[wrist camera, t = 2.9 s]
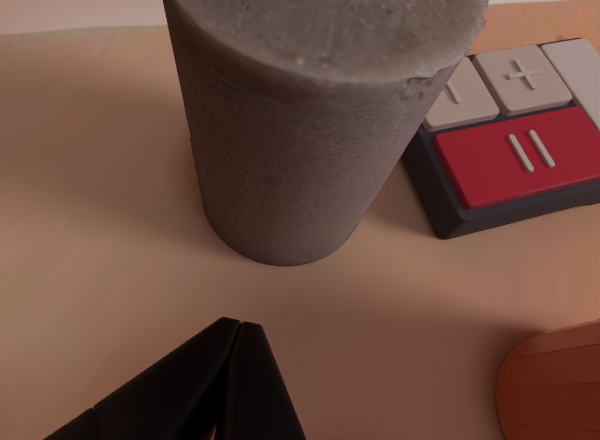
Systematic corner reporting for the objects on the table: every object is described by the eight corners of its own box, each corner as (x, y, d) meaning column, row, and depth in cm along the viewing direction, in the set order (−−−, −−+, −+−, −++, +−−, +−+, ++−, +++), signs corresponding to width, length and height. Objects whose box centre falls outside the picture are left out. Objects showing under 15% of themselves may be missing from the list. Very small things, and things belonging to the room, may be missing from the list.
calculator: (390, 58, 24) (592, 26, 27) (373, 105, 28) (550, 73, 30) (468, 216, 20) (698, 159, 22) (434, 245, 24) (634, 194, 26)
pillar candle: (167, 183, 23) (49, -142, 9) (287, 101, 26) (330, -217, 13) (283, 305, 20) (354, 116, 7) (396, 196, 24) (587, -64, 11)
